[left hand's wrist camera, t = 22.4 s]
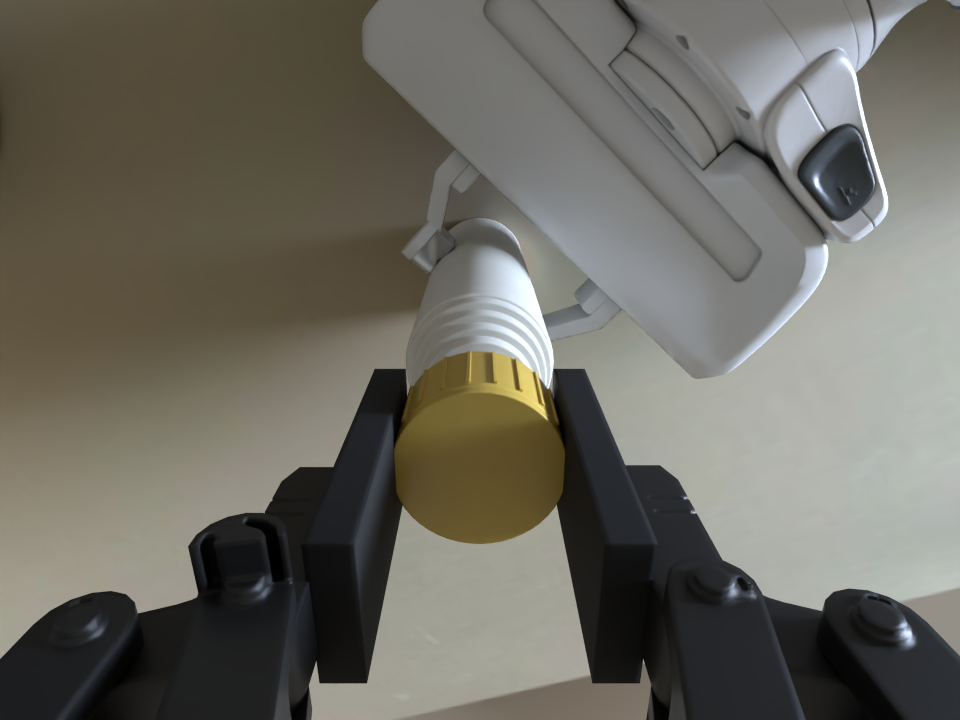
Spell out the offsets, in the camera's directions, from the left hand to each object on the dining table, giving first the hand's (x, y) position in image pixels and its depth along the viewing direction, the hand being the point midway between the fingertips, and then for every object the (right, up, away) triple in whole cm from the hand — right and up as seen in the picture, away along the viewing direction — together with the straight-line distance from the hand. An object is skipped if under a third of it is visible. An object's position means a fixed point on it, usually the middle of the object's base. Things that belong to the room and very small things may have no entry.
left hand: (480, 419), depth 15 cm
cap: (0, -1, -2) cm, 2 cm away
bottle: (0, +7, +17) cm, 18 cm away
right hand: (-1, +4, +11) cm, 12 cm away
